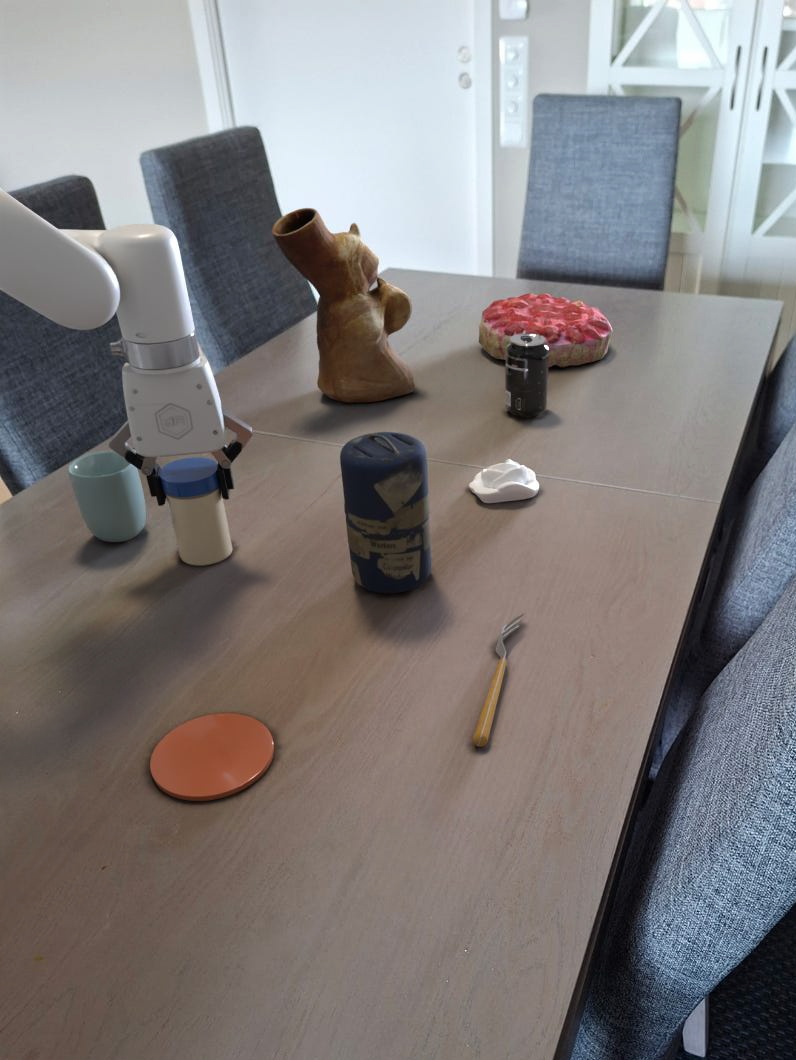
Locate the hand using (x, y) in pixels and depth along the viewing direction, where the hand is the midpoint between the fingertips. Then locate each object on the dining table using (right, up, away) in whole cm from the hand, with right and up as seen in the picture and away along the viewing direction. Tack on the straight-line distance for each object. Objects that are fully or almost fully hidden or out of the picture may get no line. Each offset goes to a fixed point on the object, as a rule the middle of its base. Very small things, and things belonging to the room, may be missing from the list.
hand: (194, 496), depth 108 cm
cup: (-12, -4, +8) cm, 15 cm away
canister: (+24, -10, -1) cm, 26 cm away
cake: (+46, +39, +66) cm, 89 cm away
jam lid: (0, +3, -2) cm, 3 cm away
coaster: (+10, -28, -25) cm, 39 cm away
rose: (+38, +3, +17) cm, 42 cm away
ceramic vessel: (+13, +25, +47) cm, 55 cm away
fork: (+36, -22, -17) cm, 45 cm away
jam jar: (0, -6, +5) cm, 8 cm away
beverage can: (+42, +20, +40) cm, 61 cm away
